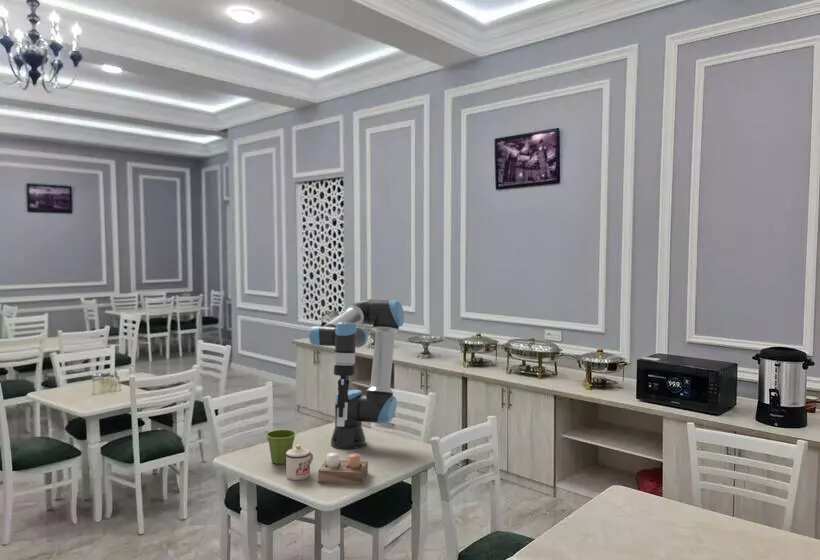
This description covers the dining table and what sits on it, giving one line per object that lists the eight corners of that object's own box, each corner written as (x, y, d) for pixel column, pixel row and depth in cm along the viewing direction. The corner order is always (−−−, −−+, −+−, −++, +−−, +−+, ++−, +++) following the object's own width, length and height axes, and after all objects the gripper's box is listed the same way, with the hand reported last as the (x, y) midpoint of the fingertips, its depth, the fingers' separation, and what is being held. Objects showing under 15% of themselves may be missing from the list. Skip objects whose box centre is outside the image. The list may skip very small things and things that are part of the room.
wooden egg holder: (326, 470, 220) (326, 459, 220) (367, 472, 218) (367, 461, 218) (318, 482, 208) (318, 470, 208) (361, 484, 206) (361, 472, 206)
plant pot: (285, 468, 222) (285, 439, 222) (259, 464, 227) (259, 435, 226) (302, 458, 233) (302, 431, 233) (277, 454, 238) (277, 427, 237)
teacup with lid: (297, 482, 208) (297, 450, 208) (280, 476, 213) (280, 445, 213) (320, 472, 218) (321, 442, 218) (303, 467, 223) (303, 437, 223)
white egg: (328, 468, 216) (328, 452, 216) (340, 468, 215) (340, 452, 215) (325, 472, 211) (325, 456, 211) (337, 473, 211) (337, 456, 211)
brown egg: (349, 469, 215) (349, 453, 215) (361, 469, 215) (361, 453, 214) (347, 473, 211) (347, 457, 210) (358, 474, 210) (358, 457, 210)
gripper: (337, 361, 223) (334, 417, 222) (331, 366, 199) (328, 428, 197) (356, 362, 224) (354, 417, 222) (352, 367, 199) (350, 429, 197)
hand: (341, 423), depth 210 cm, fingers open, 13 cm apart
